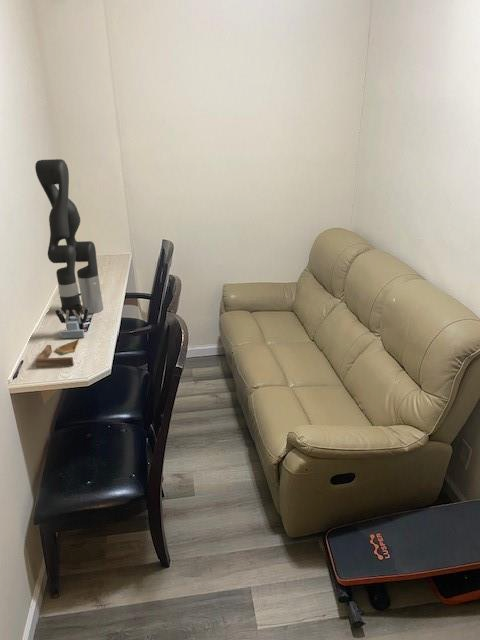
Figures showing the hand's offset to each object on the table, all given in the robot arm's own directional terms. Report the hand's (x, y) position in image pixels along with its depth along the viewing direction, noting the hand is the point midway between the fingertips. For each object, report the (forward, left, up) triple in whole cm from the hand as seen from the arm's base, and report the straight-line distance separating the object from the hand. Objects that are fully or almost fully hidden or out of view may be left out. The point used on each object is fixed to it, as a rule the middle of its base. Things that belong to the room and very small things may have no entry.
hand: (76, 330), depth 200 cm
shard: (+14, 0, -2) cm, 15 cm away
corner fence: (+24, 0, -1) cm, 24 cm away
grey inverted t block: (0, 0, -1) cm, 1 cm away
